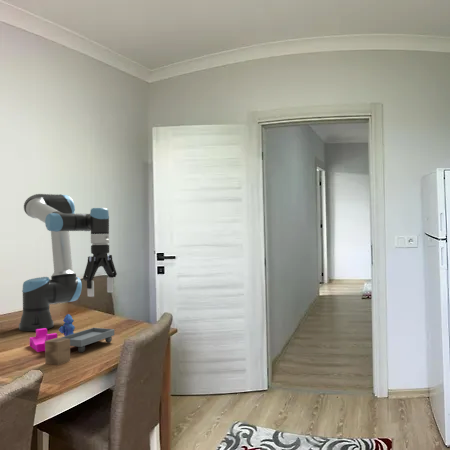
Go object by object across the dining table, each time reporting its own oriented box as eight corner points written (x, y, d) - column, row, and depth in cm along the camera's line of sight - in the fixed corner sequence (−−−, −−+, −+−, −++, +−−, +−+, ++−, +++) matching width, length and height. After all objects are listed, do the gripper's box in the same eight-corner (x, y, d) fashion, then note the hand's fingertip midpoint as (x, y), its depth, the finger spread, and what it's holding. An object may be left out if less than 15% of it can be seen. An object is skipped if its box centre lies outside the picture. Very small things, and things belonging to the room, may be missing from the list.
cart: (58, 351, 180) (58, 338, 180) (93, 339, 200) (93, 327, 200) (81, 353, 176) (81, 340, 176) (114, 341, 196) (114, 329, 196)
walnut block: (45, 363, 165) (45, 341, 165) (57, 359, 171) (57, 337, 171) (58, 365, 163) (58, 342, 163) (70, 360, 168) (69, 338, 168)
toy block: (29, 348, 188) (29, 330, 188) (45, 346, 192) (45, 328, 192) (41, 356, 176) (40, 336, 176) (57, 353, 180) (57, 333, 180)
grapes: (55, 341, 199) (55, 313, 199) (72, 339, 202) (71, 312, 202) (61, 347, 189) (60, 317, 189) (78, 344, 192) (77, 316, 192)
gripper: (88, 245, 182) (89, 298, 182) (124, 243, 206) (124, 291, 205) (73, 245, 185) (74, 298, 184) (109, 243, 208) (110, 290, 208)
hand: (100, 294), depth 195 cm, fingers open, 13 cm apart
